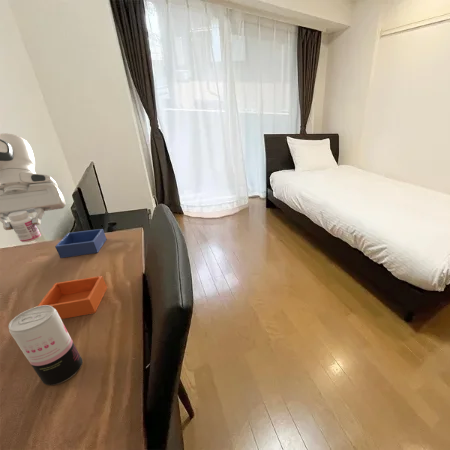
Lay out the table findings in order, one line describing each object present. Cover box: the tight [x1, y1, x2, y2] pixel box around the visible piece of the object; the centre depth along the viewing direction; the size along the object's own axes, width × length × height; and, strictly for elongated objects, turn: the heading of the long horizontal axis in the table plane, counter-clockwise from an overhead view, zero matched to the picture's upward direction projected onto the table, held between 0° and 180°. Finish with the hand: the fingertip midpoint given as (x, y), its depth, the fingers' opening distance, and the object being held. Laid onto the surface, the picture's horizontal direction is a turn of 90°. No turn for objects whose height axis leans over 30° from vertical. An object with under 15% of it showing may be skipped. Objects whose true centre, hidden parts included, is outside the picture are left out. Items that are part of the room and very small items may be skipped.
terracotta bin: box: [37, 275, 108, 320], centre depth 72 cm, size 11×10×5 cm
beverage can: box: [8, 305, 83, 386], centre depth 53 cm, size 7×7×15 cm
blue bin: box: [54, 228, 107, 259], centre depth 98 cm, size 11×10×5 cm
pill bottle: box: [7, 210, 42, 243], centre depth 79 cm, size 5×5×8 cm
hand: (23, 226), depth 78 cm, fingers closed on pill bottle, 5 cm apart
